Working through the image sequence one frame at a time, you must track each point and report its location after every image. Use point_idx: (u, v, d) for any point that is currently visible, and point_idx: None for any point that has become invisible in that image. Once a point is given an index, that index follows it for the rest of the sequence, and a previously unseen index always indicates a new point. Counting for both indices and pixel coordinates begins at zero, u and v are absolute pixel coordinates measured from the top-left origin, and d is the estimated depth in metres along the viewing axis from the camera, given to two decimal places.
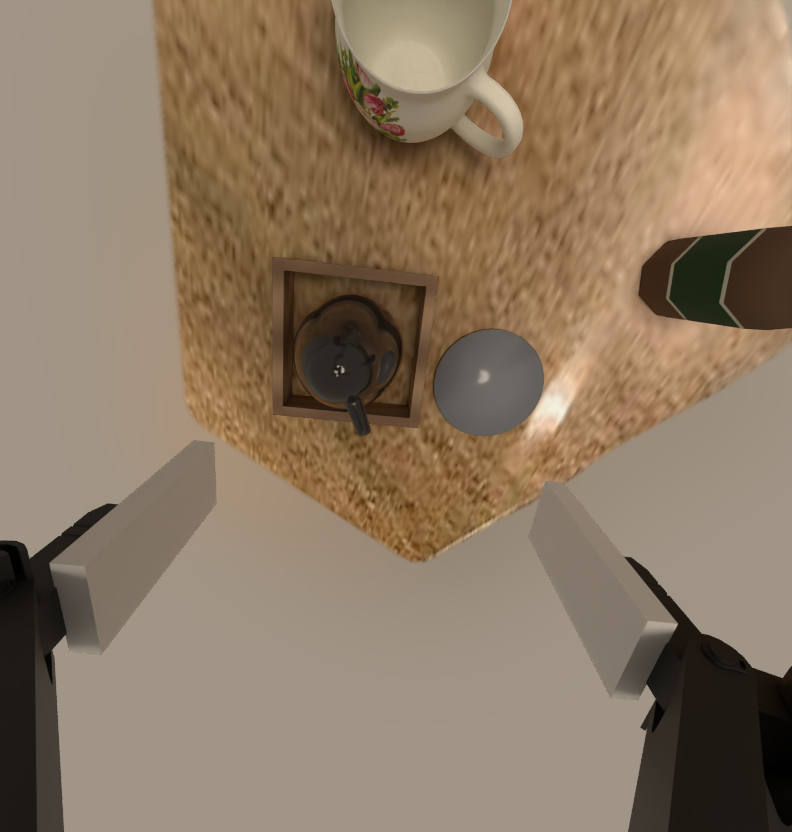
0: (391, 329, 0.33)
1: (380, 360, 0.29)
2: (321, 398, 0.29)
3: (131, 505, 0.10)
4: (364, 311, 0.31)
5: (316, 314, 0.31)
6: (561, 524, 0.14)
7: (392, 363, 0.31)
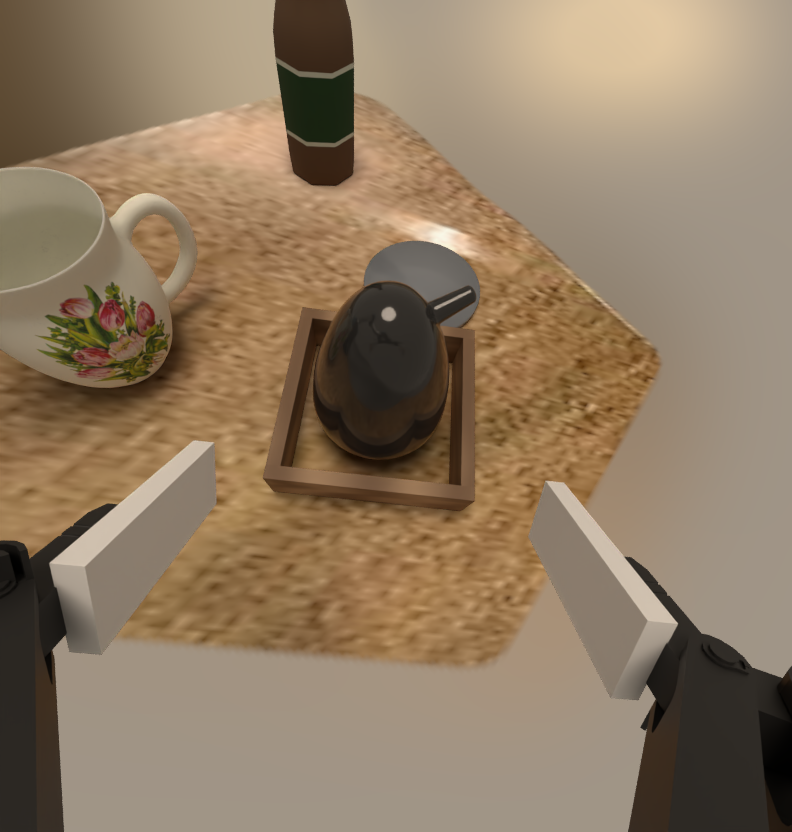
0: None
1: None
2: (426, 336, 0.21)
3: (131, 505, 0.10)
4: None
5: (325, 382, 0.24)
6: (561, 524, 0.14)
7: None
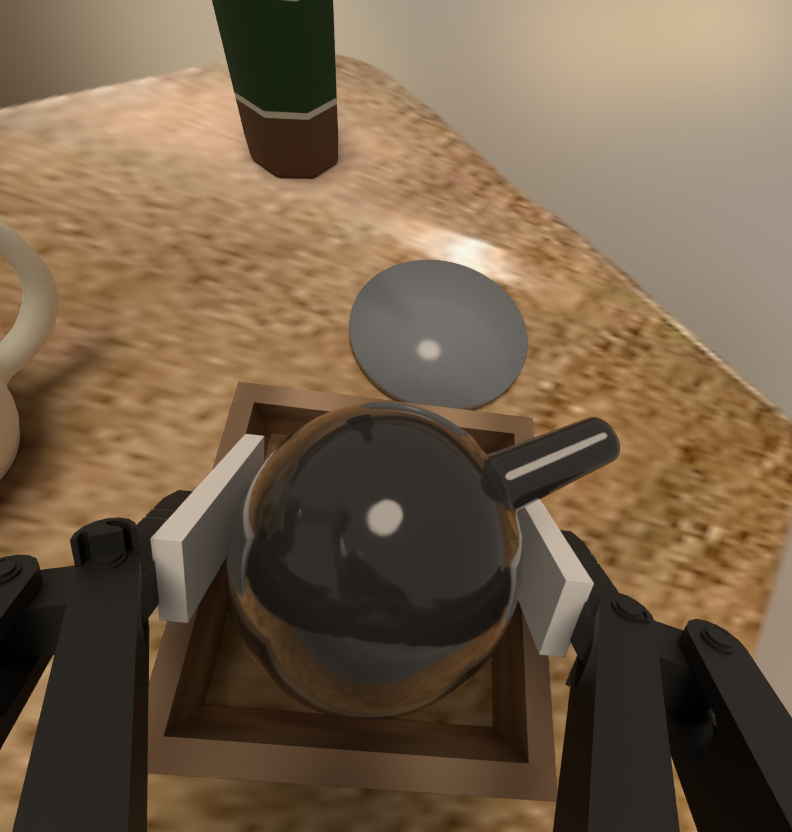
0: None
1: None
2: (498, 595, 0.07)
3: (206, 490, 0.12)
4: None
5: (236, 625, 0.10)
6: None
7: None
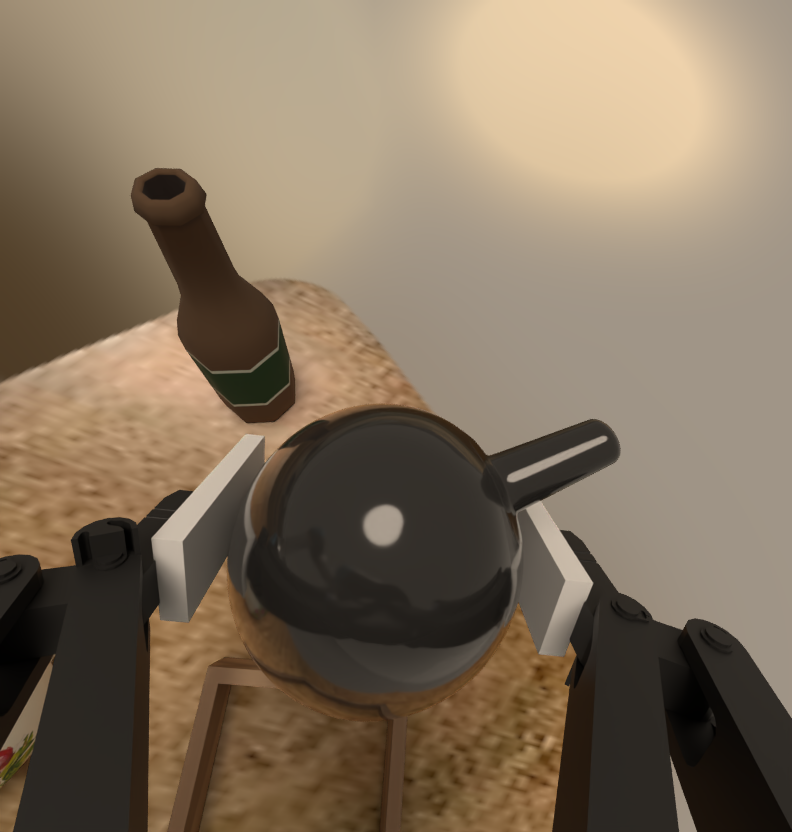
0: None
1: (361, 405, 0.10)
2: (499, 597, 0.07)
3: (207, 490, 0.12)
4: None
5: (237, 626, 0.10)
6: None
7: None
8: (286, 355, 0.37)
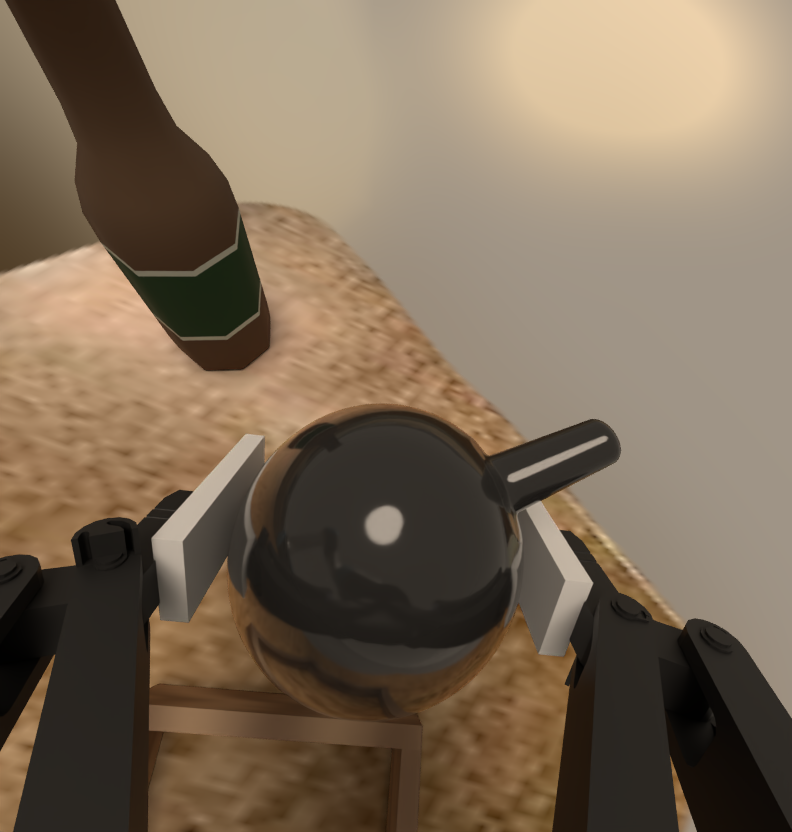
0: None
1: (361, 405, 0.10)
2: (499, 597, 0.07)
3: (207, 490, 0.12)
4: None
5: None
6: None
7: None
8: (254, 272, 0.27)
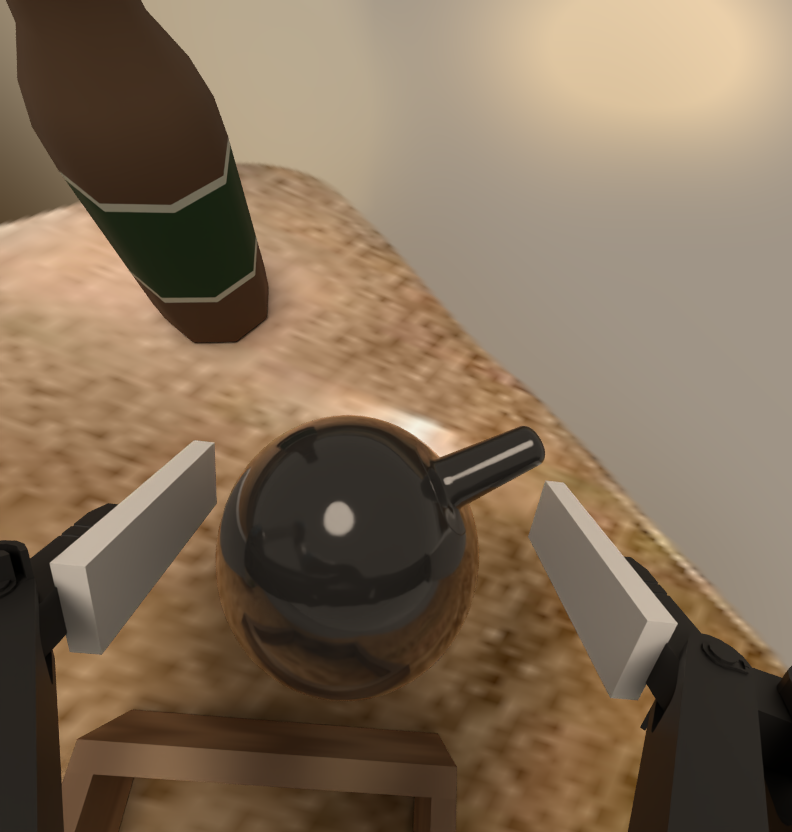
0: None
1: None
2: (429, 577, 0.08)
3: (131, 505, 0.10)
4: None
5: None
6: (561, 524, 0.14)
7: None
8: (248, 223, 0.23)
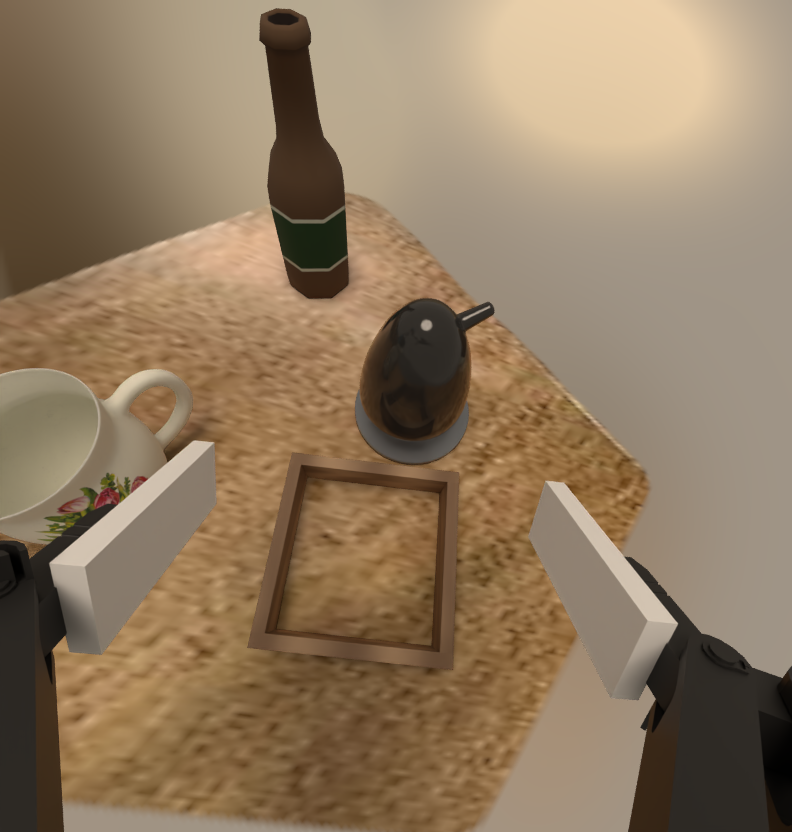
0: None
1: None
2: (456, 340, 0.27)
3: (131, 505, 0.10)
4: None
5: (375, 376, 0.31)
6: (562, 524, 0.14)
7: None
8: None
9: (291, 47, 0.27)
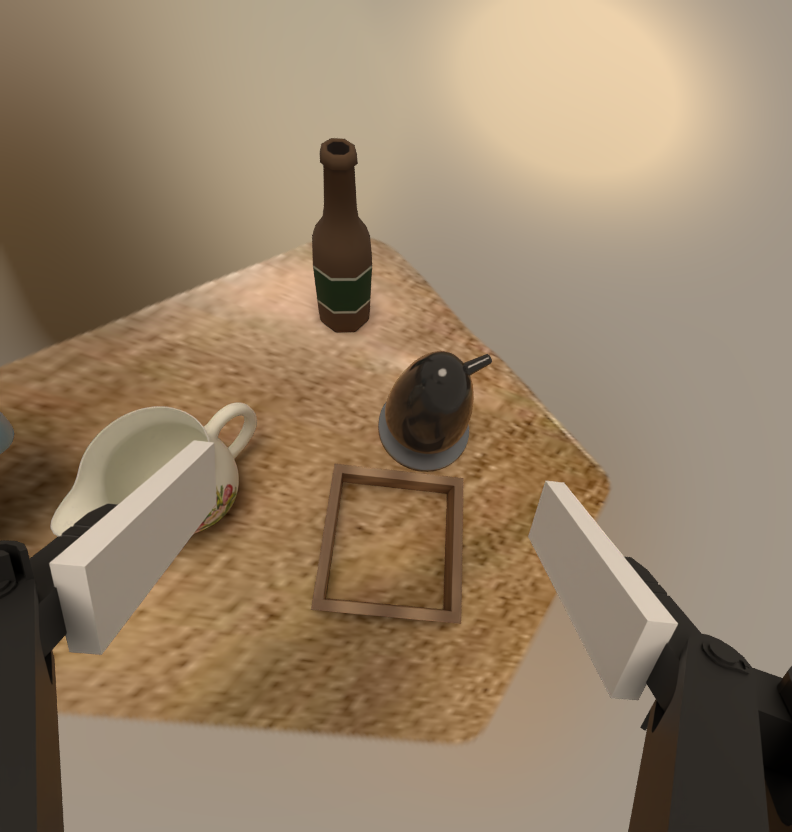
0: None
1: None
2: (464, 384, 0.38)
3: (131, 505, 0.10)
4: (399, 377, 0.42)
5: (401, 407, 0.41)
6: (562, 524, 0.14)
7: None
8: None
9: (344, 168, 0.36)
